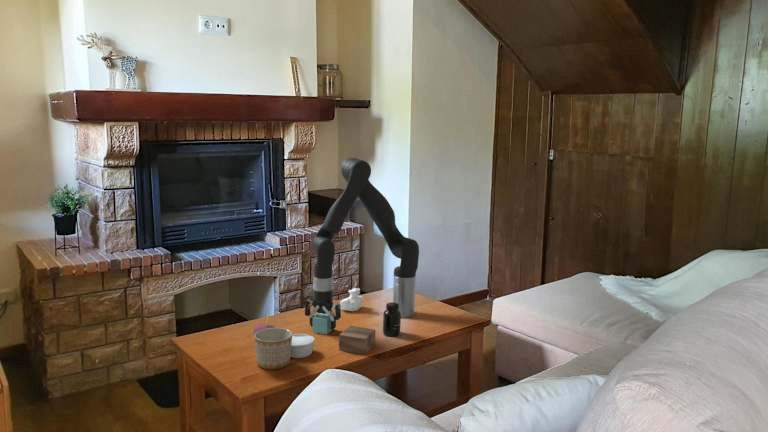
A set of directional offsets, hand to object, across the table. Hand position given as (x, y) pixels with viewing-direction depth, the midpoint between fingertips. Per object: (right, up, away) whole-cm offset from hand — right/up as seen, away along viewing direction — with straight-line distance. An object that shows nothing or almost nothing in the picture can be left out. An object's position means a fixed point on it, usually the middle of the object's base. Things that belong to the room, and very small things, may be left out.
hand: (322, 327), depth 236 cm
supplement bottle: (+27, -2, -1) cm, 27 cm away
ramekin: (-6, -5, -22) cm, 23 cm away
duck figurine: (+10, +3, +25) cm, 27 cm away
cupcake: (-20, -3, -13) cm, 24 cm away
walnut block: (+14, -5, -15) cm, 21 cm away
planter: (-14, -7, -31) cm, 34 cm away
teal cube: (0, -1, 0) cm, 1 cm away
